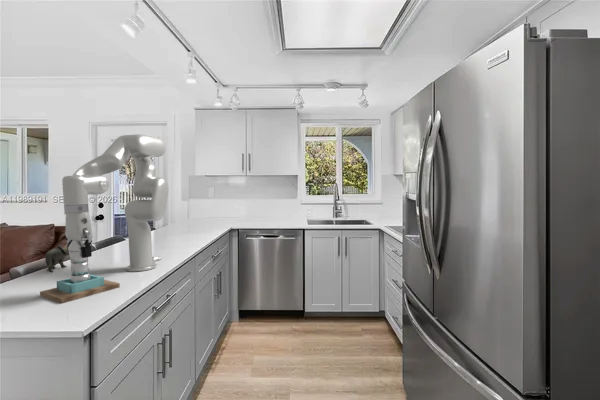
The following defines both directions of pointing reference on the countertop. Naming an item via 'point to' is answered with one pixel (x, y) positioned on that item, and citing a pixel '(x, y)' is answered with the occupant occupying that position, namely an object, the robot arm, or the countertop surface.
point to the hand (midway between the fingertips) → (79, 255)
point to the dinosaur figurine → (55, 257)
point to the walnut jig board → (78, 289)
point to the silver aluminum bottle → (78, 263)
